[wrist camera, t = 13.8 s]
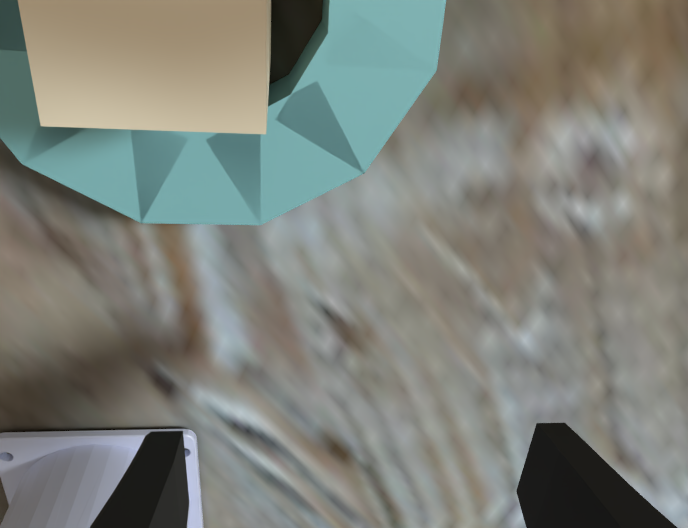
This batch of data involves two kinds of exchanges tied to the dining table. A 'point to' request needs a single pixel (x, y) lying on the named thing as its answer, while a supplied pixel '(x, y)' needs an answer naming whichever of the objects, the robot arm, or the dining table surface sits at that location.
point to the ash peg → (150, 63)
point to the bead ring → (236, 148)
